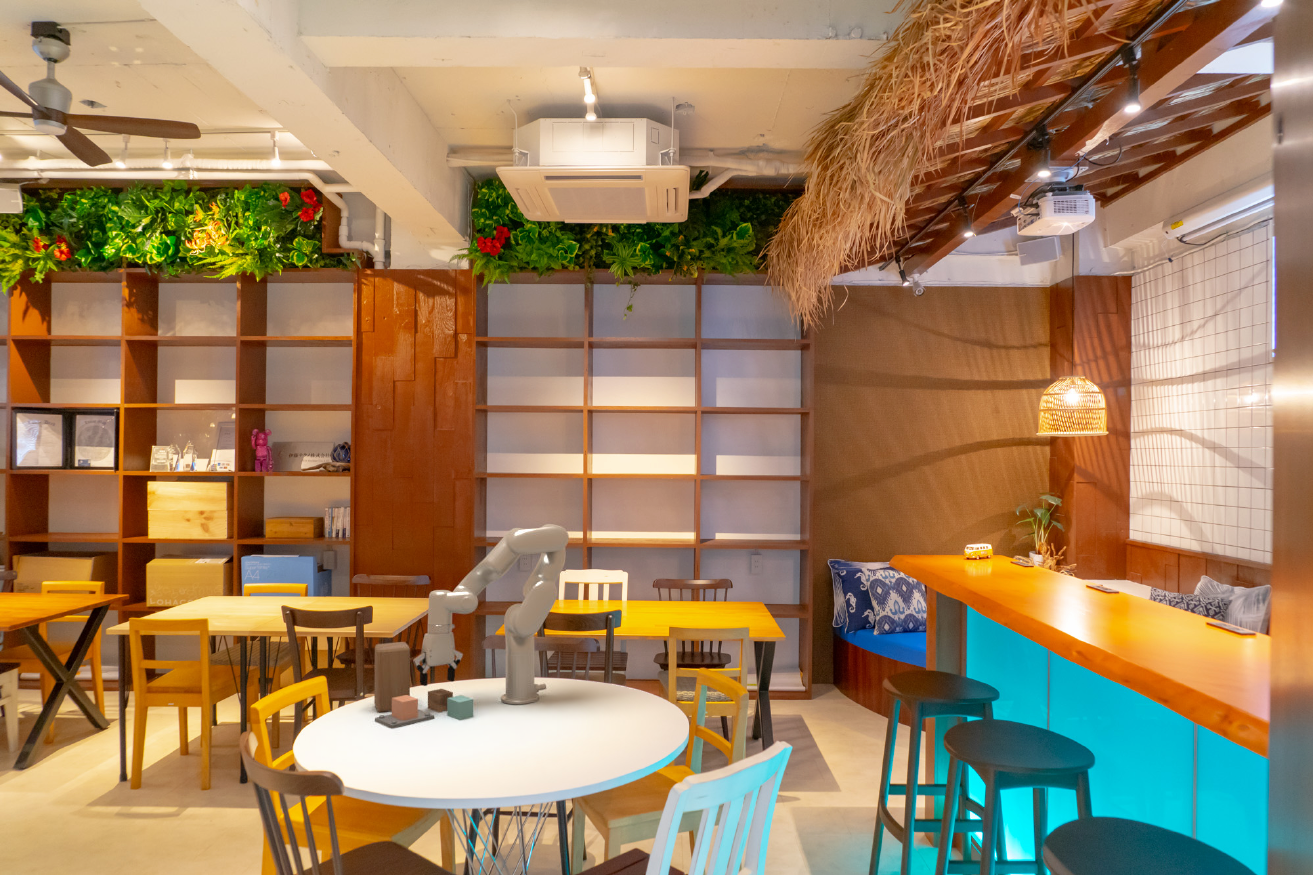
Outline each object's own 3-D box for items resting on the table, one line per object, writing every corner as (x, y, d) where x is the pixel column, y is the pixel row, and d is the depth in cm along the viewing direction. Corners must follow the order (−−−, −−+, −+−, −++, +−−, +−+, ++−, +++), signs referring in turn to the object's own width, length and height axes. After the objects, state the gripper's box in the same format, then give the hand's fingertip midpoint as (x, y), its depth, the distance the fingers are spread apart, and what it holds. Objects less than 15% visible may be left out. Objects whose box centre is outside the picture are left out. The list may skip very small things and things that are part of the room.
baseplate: (416, 711, 263) (416, 690, 263) (434, 718, 255) (434, 697, 255) (374, 721, 253) (374, 699, 253) (391, 728, 245) (392, 706, 245)
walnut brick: (441, 705, 270) (441, 688, 270) (452, 709, 265) (452, 692, 265) (427, 708, 267) (427, 691, 267) (438, 712, 262) (439, 695, 262)
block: (374, 705, 271) (374, 643, 272) (405, 701, 275) (405, 641, 276) (377, 713, 261) (378, 649, 262) (410, 709, 266) (410, 646, 267)
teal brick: (461, 712, 262) (461, 695, 262) (473, 717, 257) (473, 699, 257) (447, 715, 258) (447, 698, 258) (459, 720, 253) (459, 702, 253)
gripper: (456, 624, 276) (454, 677, 275) (409, 630, 264) (406, 684, 263) (469, 628, 270) (467, 681, 269) (421, 633, 258) (418, 689, 257)
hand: (437, 682), depth 266 cm, fingers open, 9 cm apart
